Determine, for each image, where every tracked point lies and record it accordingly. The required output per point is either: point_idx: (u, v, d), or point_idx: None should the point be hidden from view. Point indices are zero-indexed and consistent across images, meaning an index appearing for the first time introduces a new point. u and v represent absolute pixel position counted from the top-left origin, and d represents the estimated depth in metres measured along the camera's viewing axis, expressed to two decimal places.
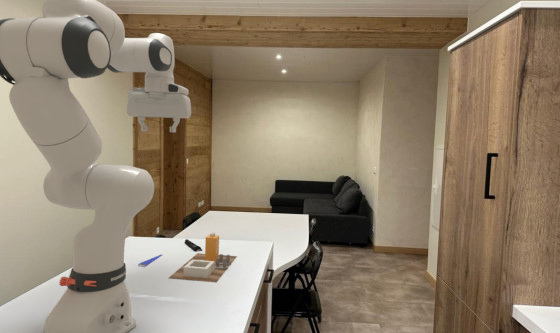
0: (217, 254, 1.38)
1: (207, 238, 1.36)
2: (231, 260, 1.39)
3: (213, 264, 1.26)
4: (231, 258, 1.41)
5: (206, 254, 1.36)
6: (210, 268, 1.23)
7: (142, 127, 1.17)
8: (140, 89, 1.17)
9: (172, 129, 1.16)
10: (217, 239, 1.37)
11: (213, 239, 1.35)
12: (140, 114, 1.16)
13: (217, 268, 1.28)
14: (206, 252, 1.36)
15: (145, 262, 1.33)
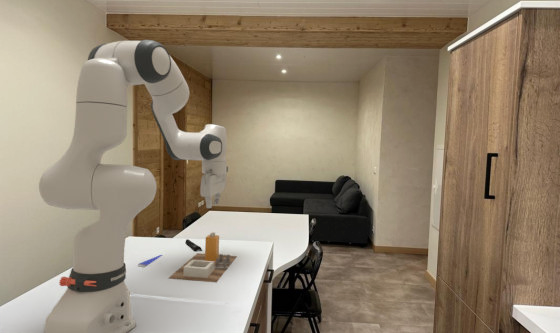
0: (217, 254, 1.38)
1: (207, 238, 1.36)
2: (231, 260, 1.39)
3: (213, 264, 1.26)
4: (231, 258, 1.41)
5: (206, 254, 1.36)
6: (210, 268, 1.23)
7: (211, 205, 1.32)
8: (210, 171, 1.30)
9: (219, 201, 1.42)
10: (217, 239, 1.37)
11: (213, 239, 1.35)
12: (213, 194, 1.31)
13: (217, 268, 1.28)
14: (206, 252, 1.36)
15: (145, 262, 1.33)
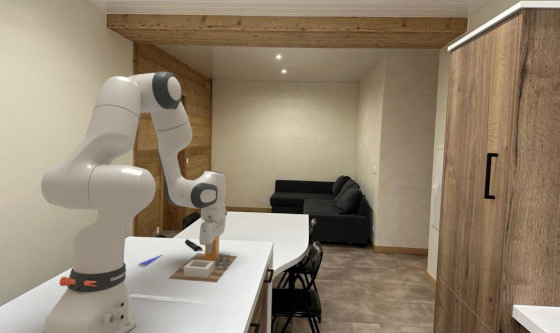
0: (217, 254, 1.38)
1: None
2: (231, 260, 1.39)
3: (213, 264, 1.26)
4: (231, 258, 1.41)
5: (206, 254, 1.36)
6: (210, 268, 1.23)
7: (212, 250, 1.35)
8: (209, 219, 1.31)
9: None
10: (217, 239, 1.37)
11: None
12: (212, 240, 1.32)
13: (217, 268, 1.28)
14: (206, 252, 1.36)
15: (145, 262, 1.33)
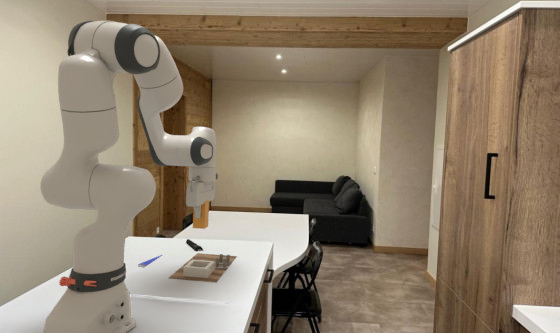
0: (206, 220, 1.24)
1: None
2: (231, 260, 1.39)
3: (213, 264, 1.26)
4: (231, 258, 1.41)
5: (194, 220, 1.22)
6: (210, 268, 1.23)
7: (200, 214, 1.21)
8: (197, 178, 1.17)
9: None
10: (206, 203, 1.23)
11: None
12: (201, 203, 1.18)
13: (217, 268, 1.28)
14: (194, 217, 1.22)
15: (145, 262, 1.33)
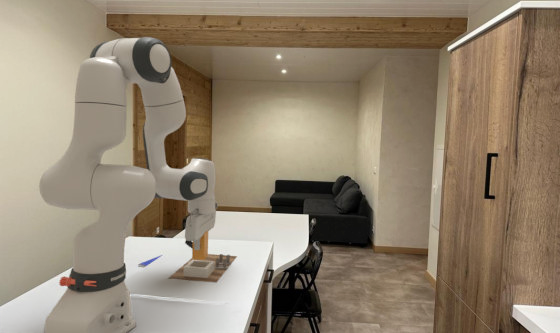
0: (206, 251, 1.24)
1: None
2: (231, 260, 1.39)
3: (213, 264, 1.26)
4: (231, 258, 1.41)
5: (193, 251, 1.22)
6: (210, 268, 1.23)
7: (200, 246, 1.21)
8: (196, 212, 1.17)
9: None
10: (206, 234, 1.23)
11: None
12: (200, 236, 1.18)
13: (217, 268, 1.28)
14: (193, 249, 1.22)
15: (145, 262, 1.33)
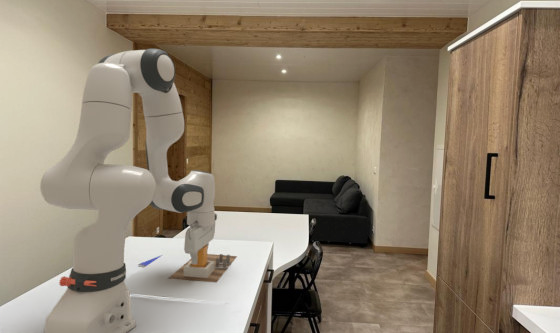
0: (205, 266, 1.24)
1: None
2: (231, 260, 1.39)
3: (213, 264, 1.26)
4: (231, 258, 1.41)
5: (193, 266, 1.22)
6: (210, 268, 1.23)
7: (197, 260, 1.19)
8: (195, 224, 1.17)
9: None
10: (205, 249, 1.23)
11: (200, 250, 1.21)
12: (199, 248, 1.18)
13: (217, 268, 1.28)
14: (193, 264, 1.22)
15: (145, 262, 1.33)
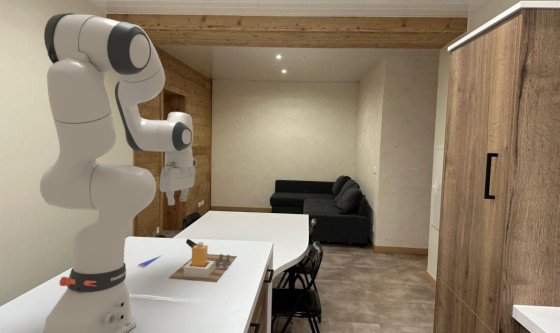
0: (205, 266, 1.24)
1: (194, 249, 1.22)
2: (231, 260, 1.39)
3: (213, 264, 1.26)
4: (231, 258, 1.41)
5: (193, 266, 1.22)
6: (210, 268, 1.23)
7: (173, 201, 1.18)
8: (172, 164, 1.17)
9: (185, 198, 1.28)
10: (205, 249, 1.23)
11: (200, 250, 1.21)
12: (176, 189, 1.17)
13: (217, 268, 1.28)
14: (193, 264, 1.22)
15: (145, 263, 1.33)
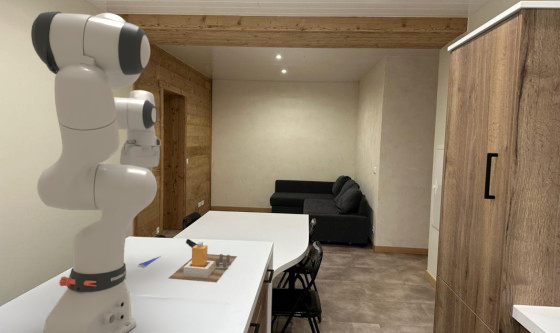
0: (205, 266, 1.24)
1: (194, 249, 1.22)
2: (231, 260, 1.39)
3: (213, 264, 1.26)
4: (231, 258, 1.41)
5: (193, 266, 1.22)
6: (210, 268, 1.23)
7: None
8: (133, 142, 1.17)
9: None
10: (205, 249, 1.23)
11: (200, 250, 1.21)
12: (137, 167, 1.18)
13: (217, 268, 1.28)
14: (193, 264, 1.22)
15: (145, 263, 1.32)
